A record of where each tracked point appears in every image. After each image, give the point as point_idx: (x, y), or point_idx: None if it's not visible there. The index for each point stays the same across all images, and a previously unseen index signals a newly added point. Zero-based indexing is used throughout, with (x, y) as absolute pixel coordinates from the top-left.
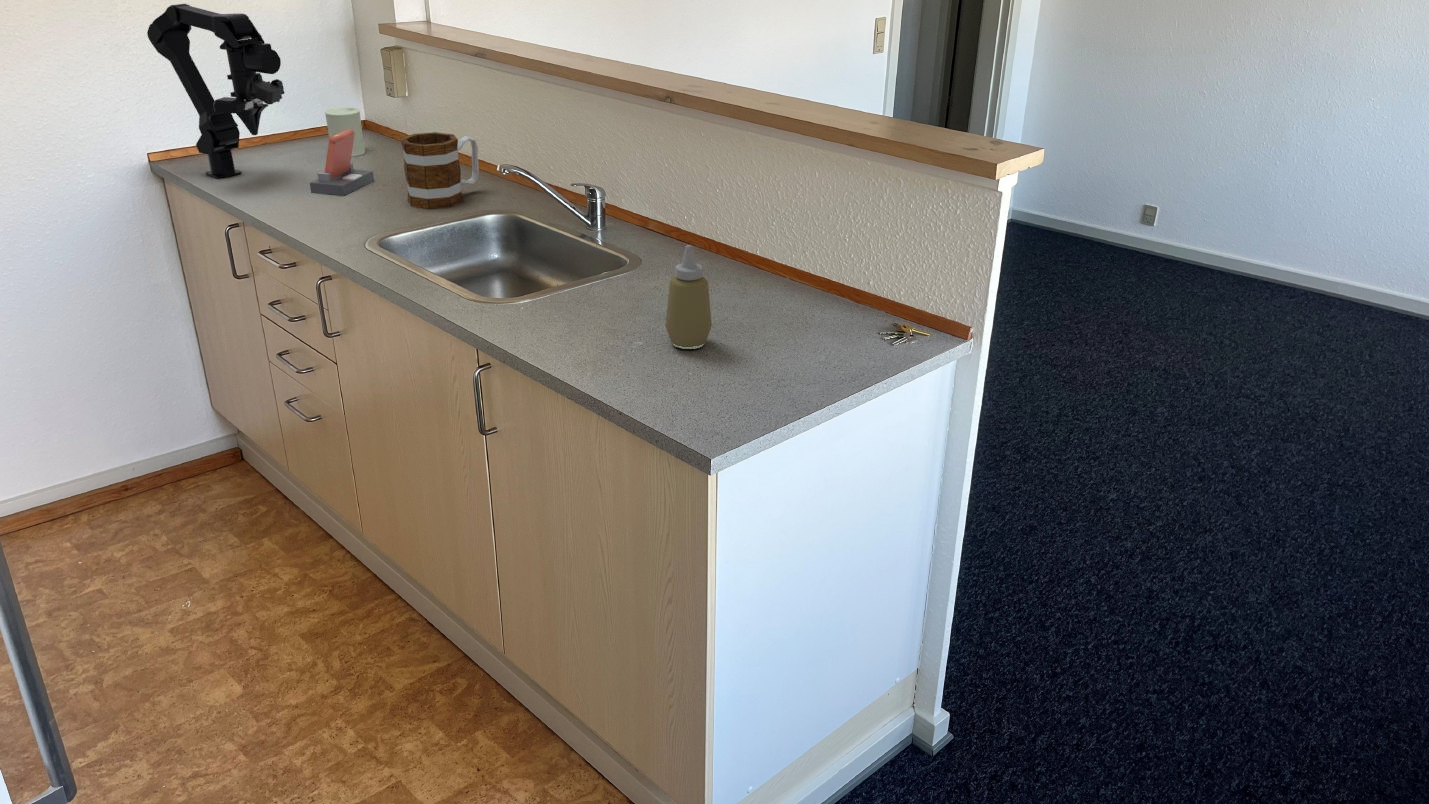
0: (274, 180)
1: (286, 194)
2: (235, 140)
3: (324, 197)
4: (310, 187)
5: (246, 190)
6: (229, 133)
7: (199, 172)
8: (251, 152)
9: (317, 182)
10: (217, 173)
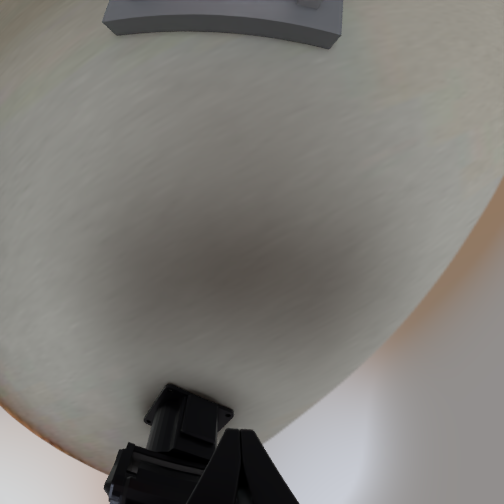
0: (199, 258)
1: (367, 126)
2: (152, 467)
3: (365, 2)
4: (334, 42)
5: (339, 288)
6: (179, 501)
7: None
8: (28, 407)
9: (331, 9)
10: (217, 423)
